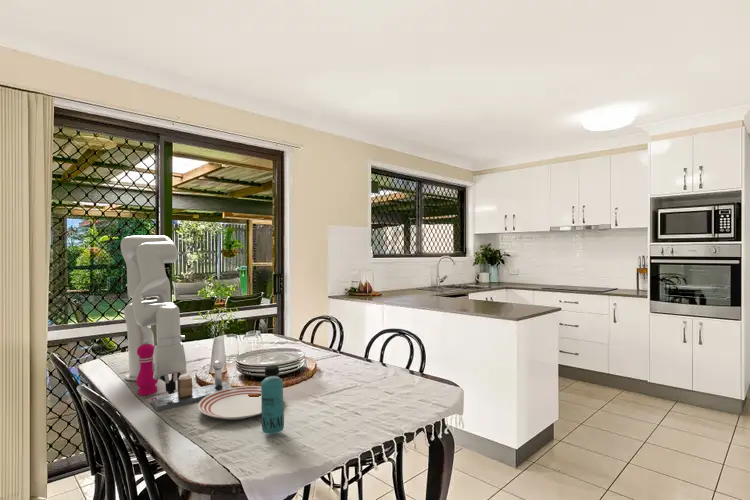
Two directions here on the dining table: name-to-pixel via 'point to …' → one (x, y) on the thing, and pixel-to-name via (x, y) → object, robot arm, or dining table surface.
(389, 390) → the dining table surface
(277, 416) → the beverage bottle
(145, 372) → the pepper mill
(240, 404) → the dinner plate
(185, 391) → the block
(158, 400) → the plate
